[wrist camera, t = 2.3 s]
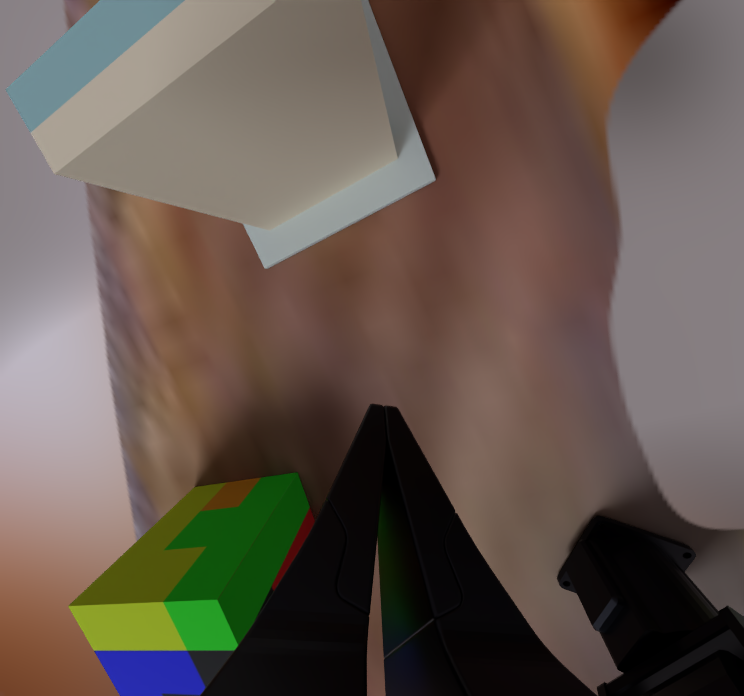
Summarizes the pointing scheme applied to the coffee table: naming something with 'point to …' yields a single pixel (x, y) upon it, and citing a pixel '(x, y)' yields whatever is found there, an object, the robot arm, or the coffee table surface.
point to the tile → (212, 103)
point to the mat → (365, 193)
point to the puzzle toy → (194, 585)
